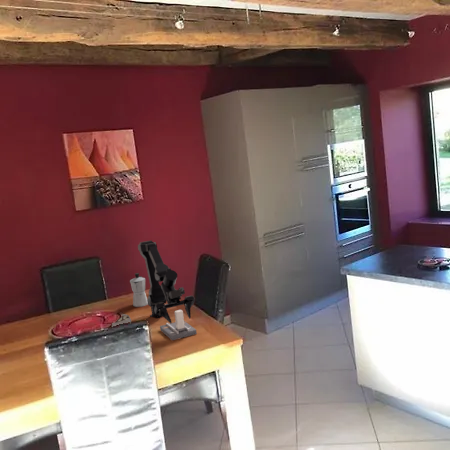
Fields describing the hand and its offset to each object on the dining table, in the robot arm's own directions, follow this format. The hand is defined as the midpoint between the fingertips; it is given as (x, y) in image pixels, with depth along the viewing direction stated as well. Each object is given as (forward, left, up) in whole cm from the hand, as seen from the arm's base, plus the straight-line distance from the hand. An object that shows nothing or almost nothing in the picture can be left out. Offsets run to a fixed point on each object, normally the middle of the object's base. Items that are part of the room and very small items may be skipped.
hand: (180, 320), depth 228 cm
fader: (-1, +1, -5) cm, 5 cm away
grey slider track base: (-5, +3, -7) cm, 9 cm away
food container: (-22, -14, -7) cm, 27 cm away
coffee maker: (-54, +27, -7) cm, 61 cm away
